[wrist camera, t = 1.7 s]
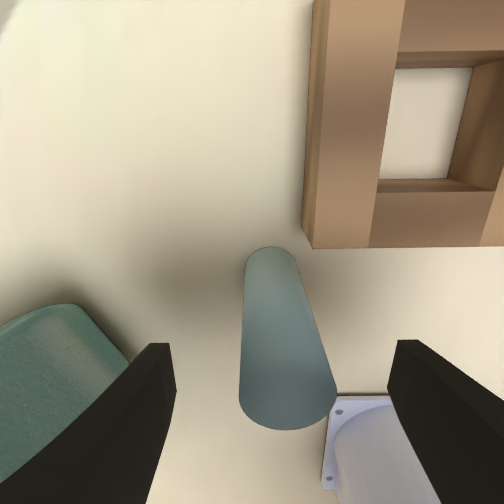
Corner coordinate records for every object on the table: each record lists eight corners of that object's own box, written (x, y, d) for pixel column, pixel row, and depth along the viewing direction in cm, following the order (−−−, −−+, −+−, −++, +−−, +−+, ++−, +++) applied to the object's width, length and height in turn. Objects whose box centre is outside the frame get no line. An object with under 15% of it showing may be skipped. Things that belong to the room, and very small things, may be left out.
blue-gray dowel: (295, 293, 16) (332, 429, 9) (245, 293, 16) (240, 430, 9) (298, 246, 15) (342, 357, 8) (244, 247, 15) (237, 359, 8)
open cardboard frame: (481, 223, 15) (534, 245, 12) (301, 226, 15) (312, 249, 12) (550, -3, 11) (646, -46, 8) (313, 1, 11) (333, -40, 8)
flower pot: (-38, 322, 17) (-308, 505, 9) (79, 257, 15) (-119, 406, 7) (66, 415, 20) (-63, 617, 12) (173, 369, 19) (110, 565, 10)
